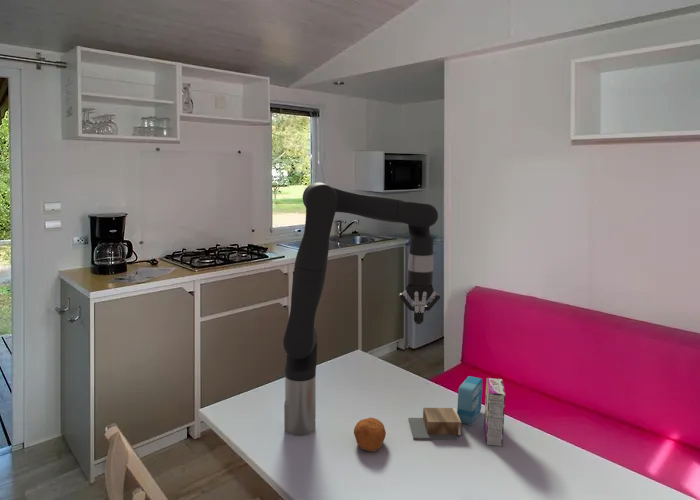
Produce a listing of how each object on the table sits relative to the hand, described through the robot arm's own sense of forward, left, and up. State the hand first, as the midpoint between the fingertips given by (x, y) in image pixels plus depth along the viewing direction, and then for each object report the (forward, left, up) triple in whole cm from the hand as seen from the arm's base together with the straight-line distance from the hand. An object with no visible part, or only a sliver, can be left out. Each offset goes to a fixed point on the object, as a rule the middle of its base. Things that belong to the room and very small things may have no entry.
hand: (418, 323), depth 157 cm
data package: (+18, +2, -32) cm, 37 cm away
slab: (+2, -6, -29) cm, 30 cm away
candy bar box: (+22, -10, -32) cm, 40 cm away
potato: (-15, -15, -32) cm, 39 cm away
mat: (+4, -6, -32) cm, 33 cm away
